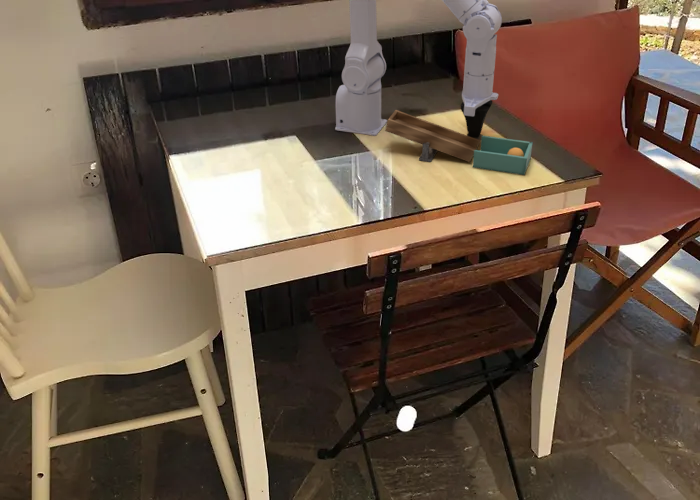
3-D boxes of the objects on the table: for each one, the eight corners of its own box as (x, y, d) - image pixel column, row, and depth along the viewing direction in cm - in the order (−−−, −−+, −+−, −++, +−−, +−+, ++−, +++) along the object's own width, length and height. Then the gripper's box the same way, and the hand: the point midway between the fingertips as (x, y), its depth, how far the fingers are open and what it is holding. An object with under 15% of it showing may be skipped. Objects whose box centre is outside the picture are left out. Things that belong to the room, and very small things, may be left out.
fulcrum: (418, 160, 143) (419, 143, 141) (430, 143, 150) (430, 127, 148) (430, 162, 142) (431, 145, 140) (441, 144, 149) (442, 128, 147)
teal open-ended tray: (472, 167, 140) (474, 151, 138) (480, 151, 146) (482, 135, 144) (524, 175, 137) (526, 158, 135) (530, 158, 143) (532, 142, 141)
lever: (384, 131, 144) (387, 120, 142) (401, 110, 153) (404, 99, 151) (469, 163, 141) (473, 151, 139) (481, 139, 150) (485, 128, 148)
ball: (520, 150, 137) (524, 165, 139) (523, 143, 140) (526, 158, 141) (503, 153, 139) (507, 168, 140) (506, 146, 141) (510, 161, 142)
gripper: (492, 86, 133) (486, 153, 140) (506, 61, 144) (500, 124, 152) (454, 82, 135) (450, 148, 142) (471, 57, 146) (467, 120, 154)
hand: (474, 135), depth 147 cm, fingers closed, pressing on lever
